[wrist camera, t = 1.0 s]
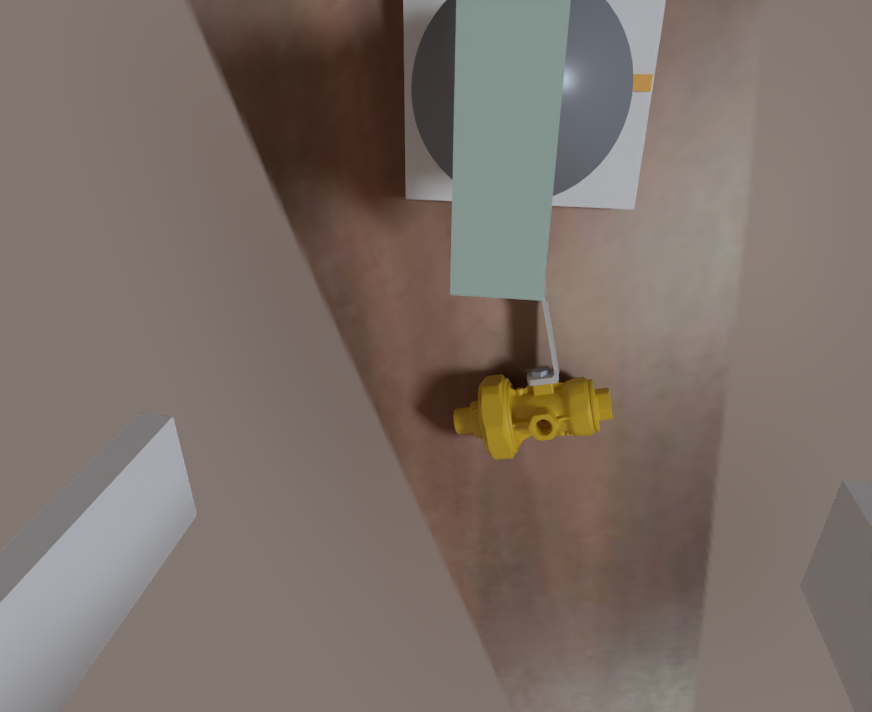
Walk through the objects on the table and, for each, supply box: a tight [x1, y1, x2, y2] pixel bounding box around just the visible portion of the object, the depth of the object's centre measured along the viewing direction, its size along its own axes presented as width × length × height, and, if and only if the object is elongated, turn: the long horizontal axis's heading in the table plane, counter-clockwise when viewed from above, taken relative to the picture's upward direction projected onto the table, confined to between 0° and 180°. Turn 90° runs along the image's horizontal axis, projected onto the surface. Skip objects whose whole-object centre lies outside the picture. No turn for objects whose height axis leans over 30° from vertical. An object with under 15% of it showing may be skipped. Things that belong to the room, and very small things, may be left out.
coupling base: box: [403, 0, 666, 209], centre depth 32 cm, size 13×13×6 cm
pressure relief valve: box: [453, 284, 613, 460], centre depth 40 cm, size 6×12×10 cm
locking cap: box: [411, 0, 633, 301], centre depth 23 cm, size 12×9×12 cm
